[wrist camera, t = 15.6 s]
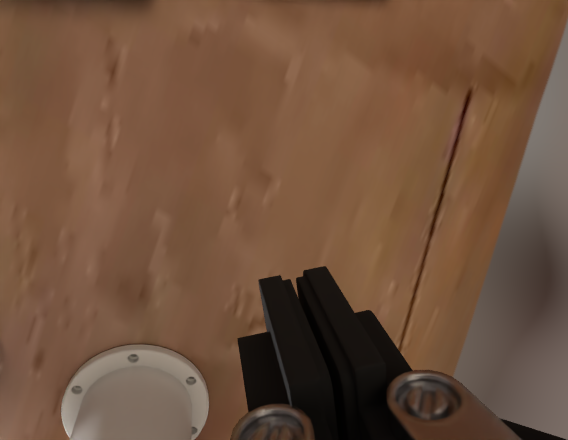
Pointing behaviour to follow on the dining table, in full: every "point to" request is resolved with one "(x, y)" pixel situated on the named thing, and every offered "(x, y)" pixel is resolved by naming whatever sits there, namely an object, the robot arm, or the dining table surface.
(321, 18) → the dining table surface
